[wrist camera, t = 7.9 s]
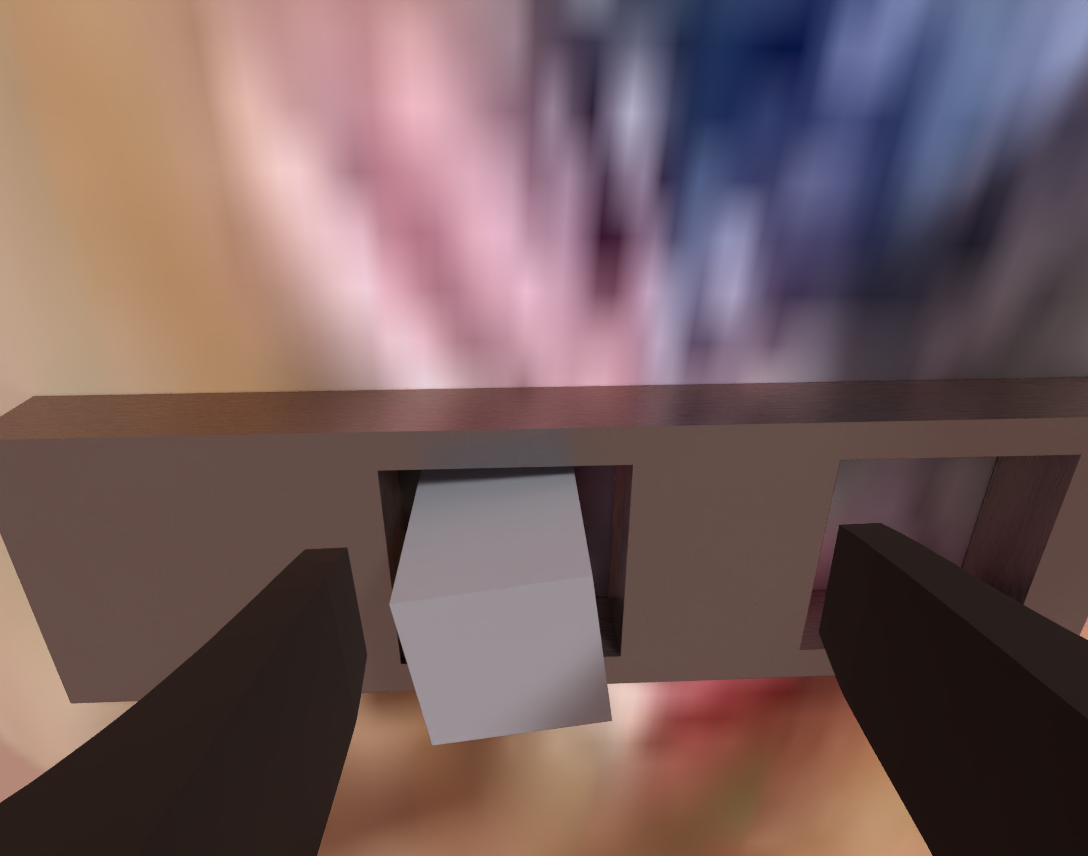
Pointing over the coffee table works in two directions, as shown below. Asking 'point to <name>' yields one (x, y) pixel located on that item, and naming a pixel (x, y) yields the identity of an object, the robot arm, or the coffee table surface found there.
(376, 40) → the coffee table surface
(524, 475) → the peg
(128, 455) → the rail
